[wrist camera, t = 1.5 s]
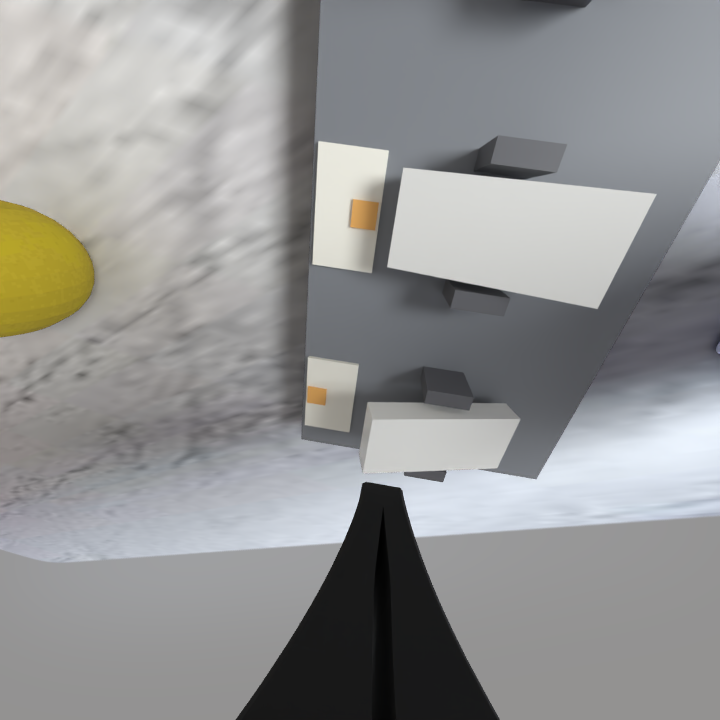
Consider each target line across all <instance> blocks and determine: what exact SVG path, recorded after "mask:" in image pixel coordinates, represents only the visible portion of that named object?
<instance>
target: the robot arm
mask: <svg viewBox="0 0 720 720" xmlns="http://www.w3.org/2000/svg"><path fill="white" fill-rule="evenodd" d="M716 352H717V353H718V354H720V342H719V344H718V345H717V347H716ZM236 720H500V719H499V717H498V715H497V714H496V712H495V710H494V708H493V707H492V705H491V703H490V701H489V699H488V697H487V696H486V694H485V692H484V690H483V688H482V686H481V684H480V683H479V681H478V679H477V677H476V675H475V673H474V671H473V670H472V668H471V666H470V664H469V662H468V660H467V659H466V656H465V654H464V652H463V650H462V649H461V647H460V644H459V642H458V640H457V639H456V636H455V634H454V632H453V630H452V628H451V626H450V624H449V622H448V619H447V617H446V615H445V613H444V611H443V608H442V606H441V604H440V602H439V599H438V597H437V595H436V592H435V590H434V588H433V585H432V583H431V580H430V578H429V575H428V573H427V570H426V567H425V565H424V562H423V560H422V557H421V554H420V551H419V548H418V545H417V542H416V540H415V537H414V533H413V530H412V527H411V524H410V520H409V517H408V513H407V510H406V506H405V501H404V497H403V492H402V490H401V489H400V488H398V487H392V486H386V485H381V484H375V483H369V482H365V483H363V484H362V488H361V494H360V499H359V502H358V506H357V509H356V512H355V514H354V517H353V520H352V522H351V525H350V527H349V530H348V532H347V535H346V537H345V540H344V542H343V544H342V546H341V548H340V550H339V552H338V555H337V557H336V559H335V561H334V563H333V565H332V567H331V569H330V571H329V573H328V575H327V577H326V579H325V581H324V583H323V584H322V586H321V588H320V590H319V592H318V593H317V596H316V597H315V599H314V601H313V602H312V604H311V606H310V608H309V609H308V611H307V613H306V614H305V616H304V618H303V620H302V621H301V623H300V624H299V626H298V628H297V629H296V631H295V633H294V634H293V636H292V637H291V639H290V641H289V642H288V644H287V645H286V647H285V648H284V650H283V651H282V653H281V655H280V656H279V658H278V659H277V661H276V662H275V664H274V665H273V667H272V668H271V670H270V671H269V673H268V674H267V676H266V677H265V679H264V680H263V682H262V684H261V685H260V686H259V688H258V689H257V691H256V692H255V693H254V695H253V696H252V698H251V699H250V701H249V702H248V703H247V705H246V706H245V707H244V709H243V710H242V712H241V713H240V714H239V716H238V717H237V719H236Z"/></svg>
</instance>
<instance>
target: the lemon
mask: <svg viewBox="0 0 720 720" xmlns="http://www.w3.org/2000/svg"><path fill="white" fill-rule="evenodd" d="M93 285H94V269H93V265H92V261H91V259H90V257H89V255H88V253H87V251H86V250H85V248H84V247H83V245H82V244H81V243H80V242H79V241H78V239H77V238H76V237H75V236H74V235H73V234H72V233H71V232H70V231H68V230H67V229H66V228H64V227H63V226H62V225H60V224H59V223H58V222H56V221H55V220H53V219H51V218H49V217H47V216H45V215H43V214H41V213H39V212H37V211H35V210H33V209H30V208H27V207H24V206H21V205H17V204H13V203H9V202H5V201H1V200H0V337H6V336H13V335H19V334H25V333H29V332H34V331H37V330H40V329H43V328H46V327H49V326H51V325H53V324H55V323H58V322H59V321H61V320H63V319H65V318H67V317H69V316H70V315H72V314H74V313H75V312H76V311H78V310H79V309H80V308H81V307H82V306H83V304H84V303H85V302H86V301H87V299H88V298H89V296H90V295H91V292H92V288H93Z"/></svg>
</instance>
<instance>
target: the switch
mask: <svg viewBox="0 0 720 720" xmlns="http://www.w3.org/2000/svg"><path fill="white" fill-rule="evenodd" d="M519 422H520V418H519V417H518V416H517V415H516V414H515V413H514V412H513V410H512V409H511V408H510V407H509V406H508V405H507V404H506V403H472V404H471V407H470V410H469V411H468V410H462V409H456V408H449V407H443V406H437V405H431V404H425V403H411V402H367V408H366V414H365V420H364V426H363V432H362V438H361V444H360V450H359V457H360V462H361V467H362V472H363V474H367V473H392V472H418V471H443V470H468V469H493V468H498V466H499V463H500V461H501V459H502V457H503V455H504V453H505V451H506V449H507V447H508V445H509V442H510V440H511V438H512V436H513V434H514V432H515V430H516V428H517V426H518V424H519Z"/></svg>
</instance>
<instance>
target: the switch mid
mask: <svg viewBox="0 0 720 720" xmlns="http://www.w3.org/2000/svg"><path fill="white" fill-rule="evenodd" d="M656 195H657V194H652V193H642V192H633V191H623V190H613V189H604V188H594V187H585V186H575V185H566V184H556V183H546V182H537V181H527V180H518V179H508V178H499V177H489V176H479V175H470V174H460V173H451V172H441V171H432V170H422V169H412V168H403V173H402V179H401V185H400V191H399V197H398V203H397V209H396V216H395V222H394V228H393V234H392V240H391V246H390V252H389V259H388V265H387V267H389V268H394V269H399V270H404V271H409V272H414V273H419V274H424V275H429V276H434V277H439V278H444V279H449V280H454V281H459V282H464V283H469V284H474V285H479V286H484V287H489V288H494V289H499V290H505V291H510V292H515V293H520V294H525V295H530V296H535V297H540V298H545V299H550V300H555V301H560V302H565V303H570V304H575V305H580V306H585V307H590V308H595V309H598V307H599V305H600V303H601V301H602V299H603V297H604V295H605V293H606V291H607V290H608V288H609V286H610V284H611V282H612V280H613V278H614V276H615V274H616V272H617V270H618V268H619V266H620V264H621V262H622V260H623V259H624V257H625V255H626V253H627V251H628V249H629V247H630V245H631V243H632V241H633V239H634V237H635V235H636V233H637V231H638V229H639V228H640V226H641V224H642V222H643V220H644V218H645V216H646V214H647V212H648V210H649V208H650V206H651V204H652V202H653V200H654V199H655V197H656Z"/></svg>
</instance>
